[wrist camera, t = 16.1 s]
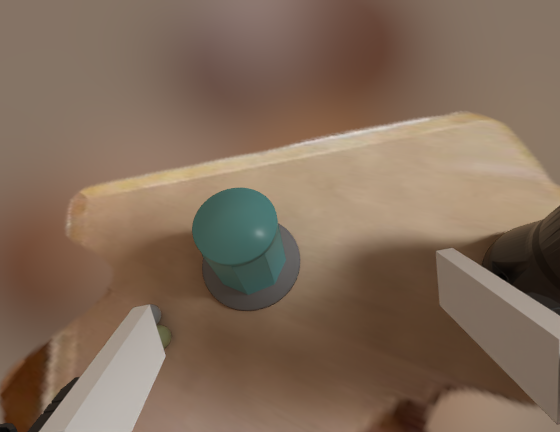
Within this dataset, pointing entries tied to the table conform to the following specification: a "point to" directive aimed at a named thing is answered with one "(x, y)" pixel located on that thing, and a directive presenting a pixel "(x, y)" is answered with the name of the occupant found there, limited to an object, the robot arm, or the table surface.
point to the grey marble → (155, 313)
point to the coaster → (265, 295)
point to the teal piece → (240, 239)
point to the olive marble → (164, 335)
